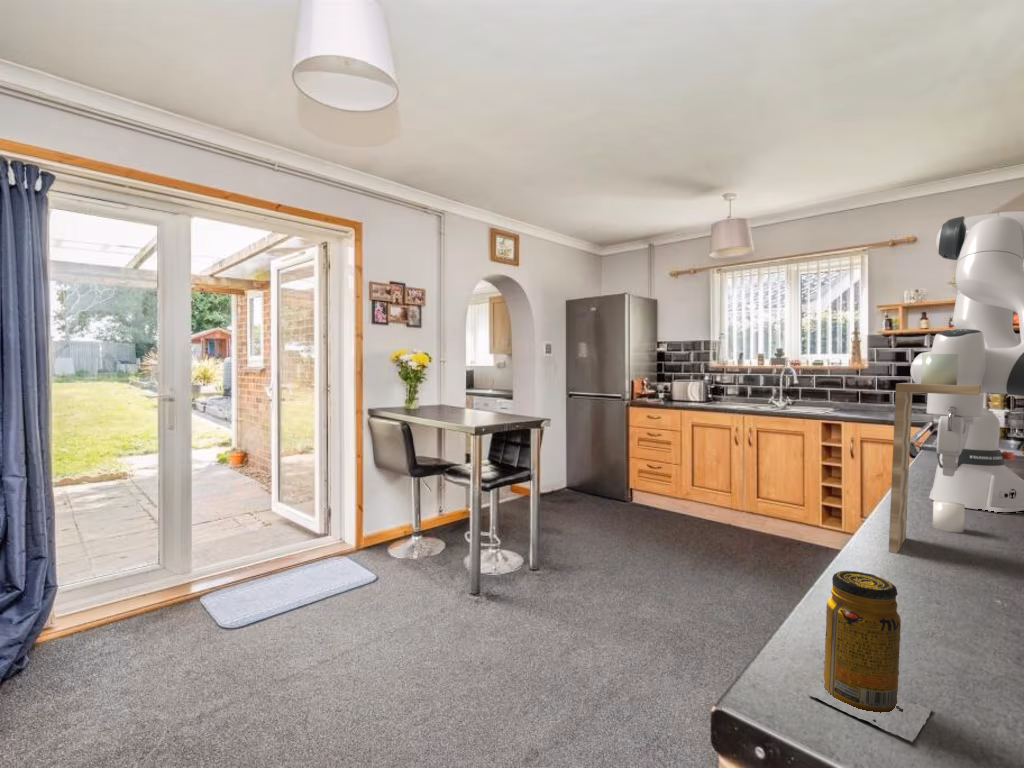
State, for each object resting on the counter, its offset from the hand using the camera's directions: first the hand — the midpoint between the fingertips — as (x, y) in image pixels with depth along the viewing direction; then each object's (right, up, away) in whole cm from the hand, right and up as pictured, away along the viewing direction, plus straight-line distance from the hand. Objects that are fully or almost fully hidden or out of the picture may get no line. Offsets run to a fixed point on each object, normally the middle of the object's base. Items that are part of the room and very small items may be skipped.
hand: (949, 473), depth 107 cm
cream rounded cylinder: (0, -12, +1) cm, 12 cm away
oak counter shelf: (-15, -12, -13) cm, 23 cm away
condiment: (-56, -13, -57) cm, 81 cm away
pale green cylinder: (-14, +18, -14) cm, 27 cm away
